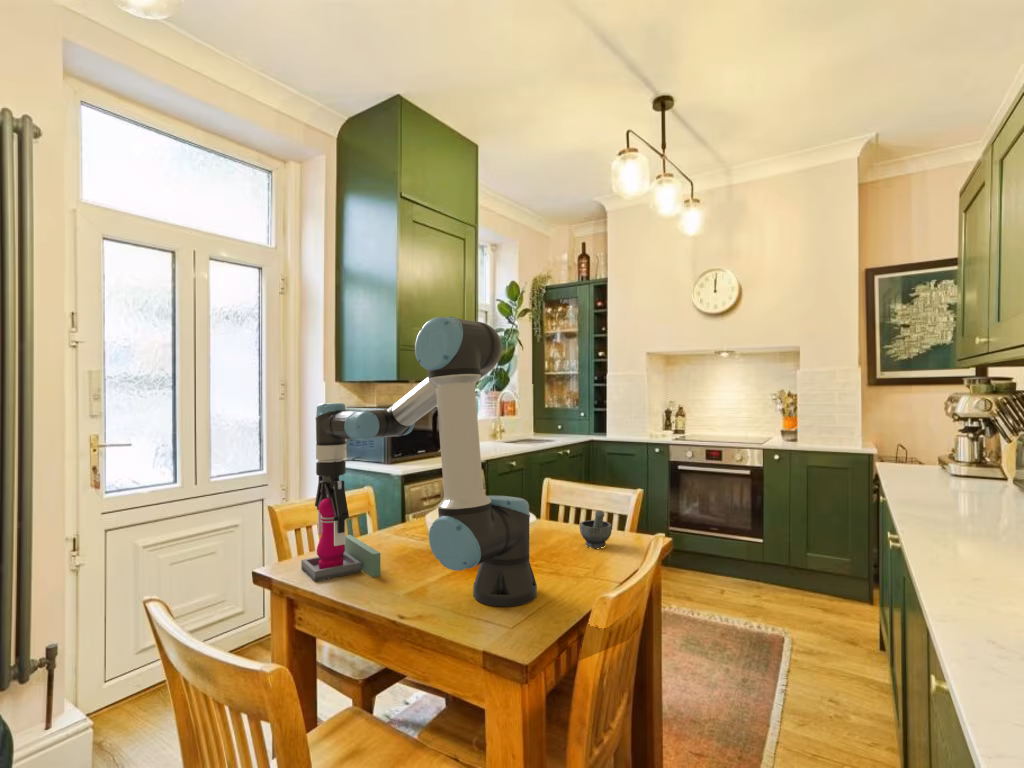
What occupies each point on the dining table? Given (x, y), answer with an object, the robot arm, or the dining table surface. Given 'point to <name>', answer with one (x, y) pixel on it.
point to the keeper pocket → (317, 574)
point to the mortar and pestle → (596, 531)
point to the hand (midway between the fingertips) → (331, 539)
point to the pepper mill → (328, 538)
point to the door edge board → (363, 555)
